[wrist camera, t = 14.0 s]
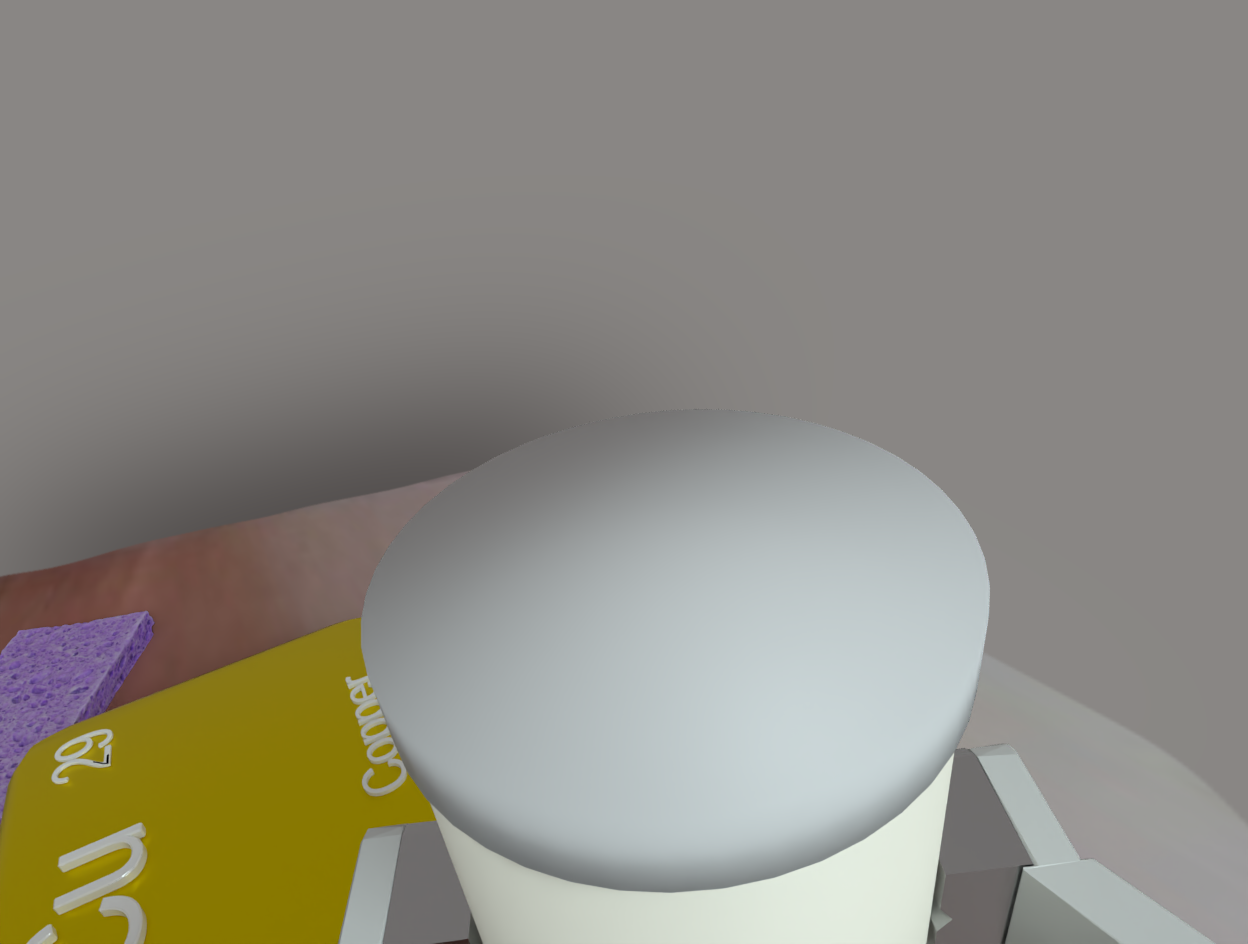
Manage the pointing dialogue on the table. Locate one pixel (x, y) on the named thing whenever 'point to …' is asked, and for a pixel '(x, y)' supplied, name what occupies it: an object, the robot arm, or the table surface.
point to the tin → (685, 681)
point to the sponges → (62, 680)
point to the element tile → (207, 807)
